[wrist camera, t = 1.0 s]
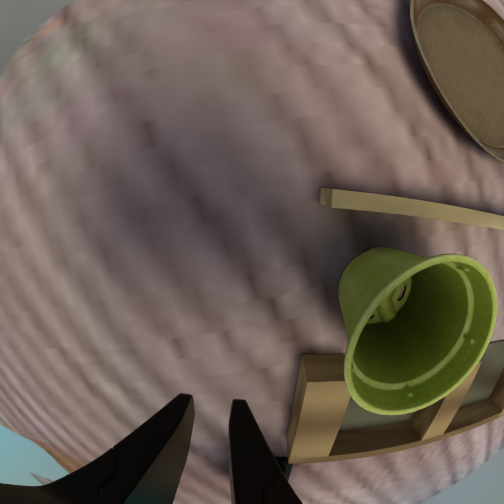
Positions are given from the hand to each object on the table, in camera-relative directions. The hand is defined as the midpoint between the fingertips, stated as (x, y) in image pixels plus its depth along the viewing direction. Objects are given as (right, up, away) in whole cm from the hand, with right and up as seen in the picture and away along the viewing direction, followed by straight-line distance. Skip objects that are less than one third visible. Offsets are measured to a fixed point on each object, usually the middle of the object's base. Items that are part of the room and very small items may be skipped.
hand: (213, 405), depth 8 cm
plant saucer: (+21, +21, +7) cm, 31 cm away
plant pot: (+10, +2, +12) cm, 16 cm away
